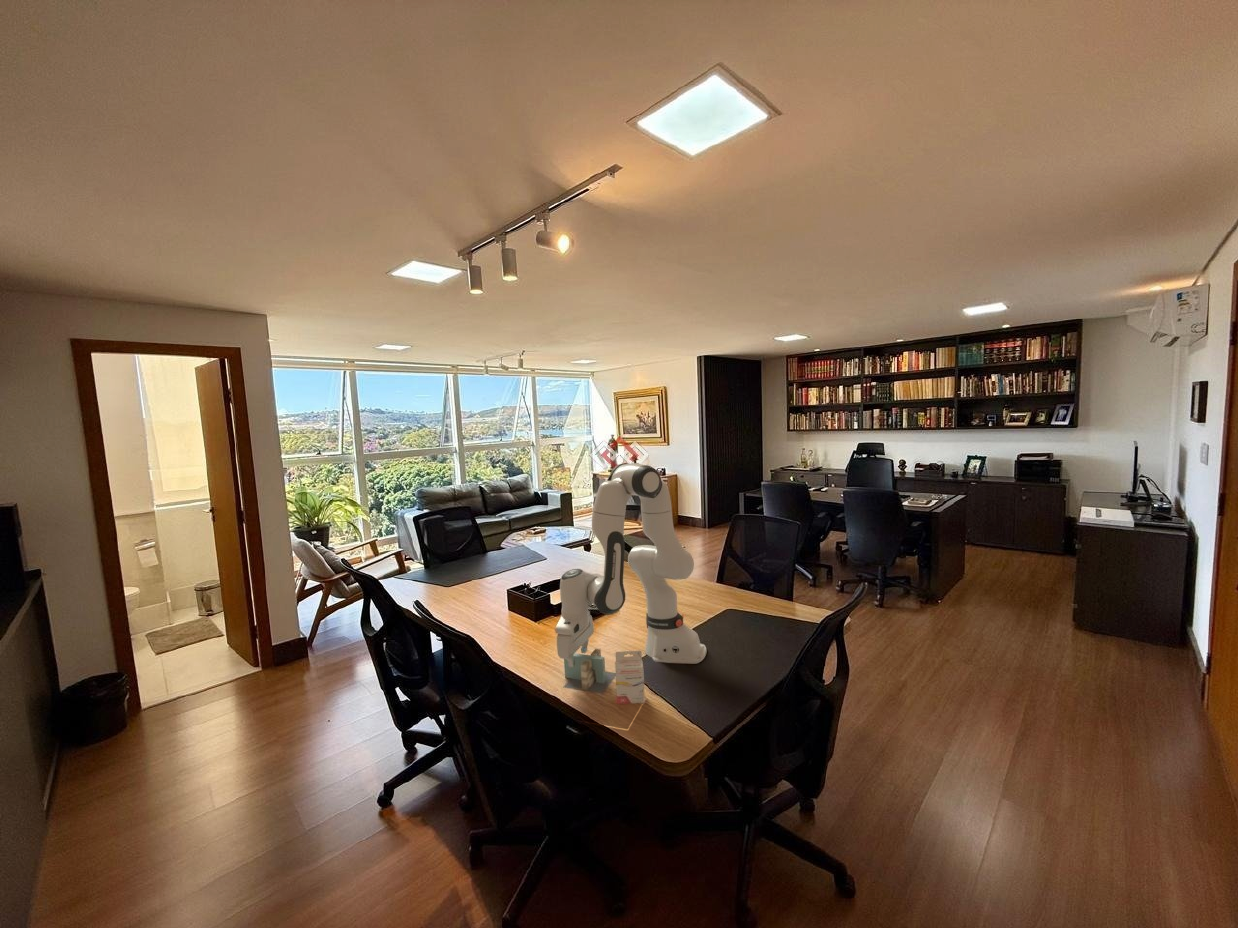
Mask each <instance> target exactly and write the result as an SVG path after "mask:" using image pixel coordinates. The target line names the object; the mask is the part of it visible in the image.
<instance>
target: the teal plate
mask: <svg viewBox="0 0 1238 928" xmlns="http://www.w3.org/2000/svg"><path fill="white" fill-rule="evenodd" d="M586 659H589V660H591V665H592V670H595V674H596V682H598V683H604V682H605V681H606V677H605V671H606V665H605V664H606V662H605V657H604V656H601V657H599V656H591V654H590V655H589V654H584V653H576V652H575V653H574V654H573V660H575V665H574V666H573V667H569V666H568V661H567V659H563V664H564V665H563V666H564V678H567V679H578V680H582V679H581V664H582V663H583V662H584V661H585V660H586Z"/></svg>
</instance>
